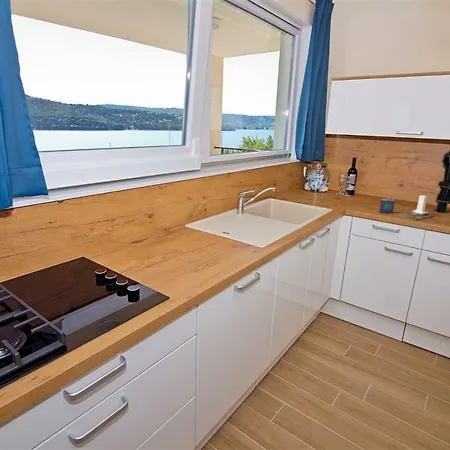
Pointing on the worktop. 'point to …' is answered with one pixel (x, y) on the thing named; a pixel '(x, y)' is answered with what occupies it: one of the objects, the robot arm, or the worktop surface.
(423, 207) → the slider
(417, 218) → the rail board
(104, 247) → the worktop surface
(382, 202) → the flask
